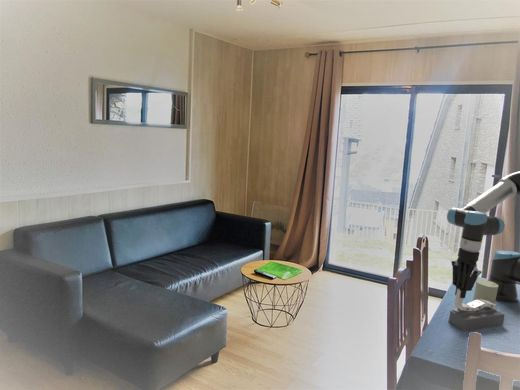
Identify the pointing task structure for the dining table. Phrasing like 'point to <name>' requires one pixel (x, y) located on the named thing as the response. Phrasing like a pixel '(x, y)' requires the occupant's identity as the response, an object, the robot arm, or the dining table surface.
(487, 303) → the rocker
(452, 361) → the dining table surface
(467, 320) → the rocker switch panel
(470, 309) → the rocker
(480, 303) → the rocker
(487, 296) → the can
